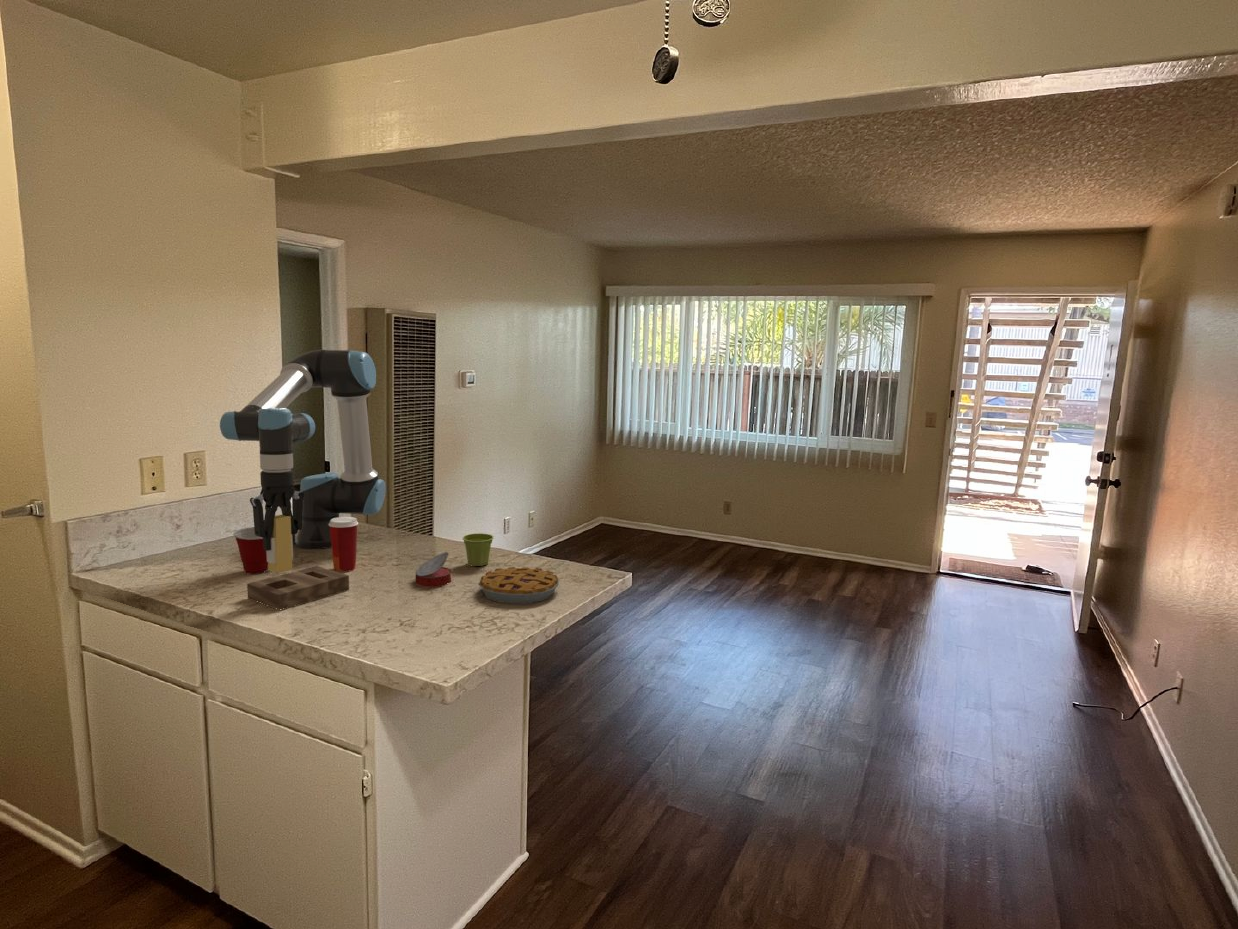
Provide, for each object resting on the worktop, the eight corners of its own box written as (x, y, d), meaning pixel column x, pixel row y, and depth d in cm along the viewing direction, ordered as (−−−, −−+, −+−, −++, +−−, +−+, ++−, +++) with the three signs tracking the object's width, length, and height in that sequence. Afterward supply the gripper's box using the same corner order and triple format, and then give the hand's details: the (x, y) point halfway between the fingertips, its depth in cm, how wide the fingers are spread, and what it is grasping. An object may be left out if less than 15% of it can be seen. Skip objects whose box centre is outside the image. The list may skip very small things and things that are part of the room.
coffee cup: (364, 565, 213) (363, 517, 211) (351, 573, 205) (350, 523, 203) (337, 564, 214) (336, 515, 212) (323, 572, 206) (322, 521, 204)
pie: (467, 602, 185) (467, 584, 184) (493, 578, 206) (493, 561, 206) (549, 609, 182) (549, 590, 182) (566, 583, 204) (566, 566, 203)
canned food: (443, 602, 198) (439, 577, 192) (410, 594, 200) (405, 569, 194) (460, 573, 207) (456, 549, 201) (428, 567, 209) (424, 542, 203)
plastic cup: (246, 579, 197) (244, 537, 195) (228, 571, 203) (226, 531, 202) (284, 571, 206) (282, 531, 204) (265, 563, 212) (264, 524, 210)
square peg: (283, 567, 184) (281, 514, 182) (292, 569, 182) (290, 516, 180) (268, 570, 181) (266, 516, 179) (277, 573, 179) (275, 519, 177)
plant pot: (490, 569, 214) (490, 541, 213) (459, 568, 214) (459, 540, 213) (496, 560, 223) (496, 533, 222) (466, 559, 223) (466, 532, 222)
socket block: (317, 579, 199) (316, 566, 198) (349, 589, 191) (348, 575, 191) (247, 598, 182) (247, 583, 182) (279, 610, 175) (278, 594, 174)
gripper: (299, 464, 187) (301, 551, 190) (234, 472, 173) (238, 565, 176) (316, 468, 183) (318, 555, 186) (252, 475, 169) (256, 570, 172)
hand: (280, 560), depth 181 cm, fingers closed on square peg, 4 cm apart
